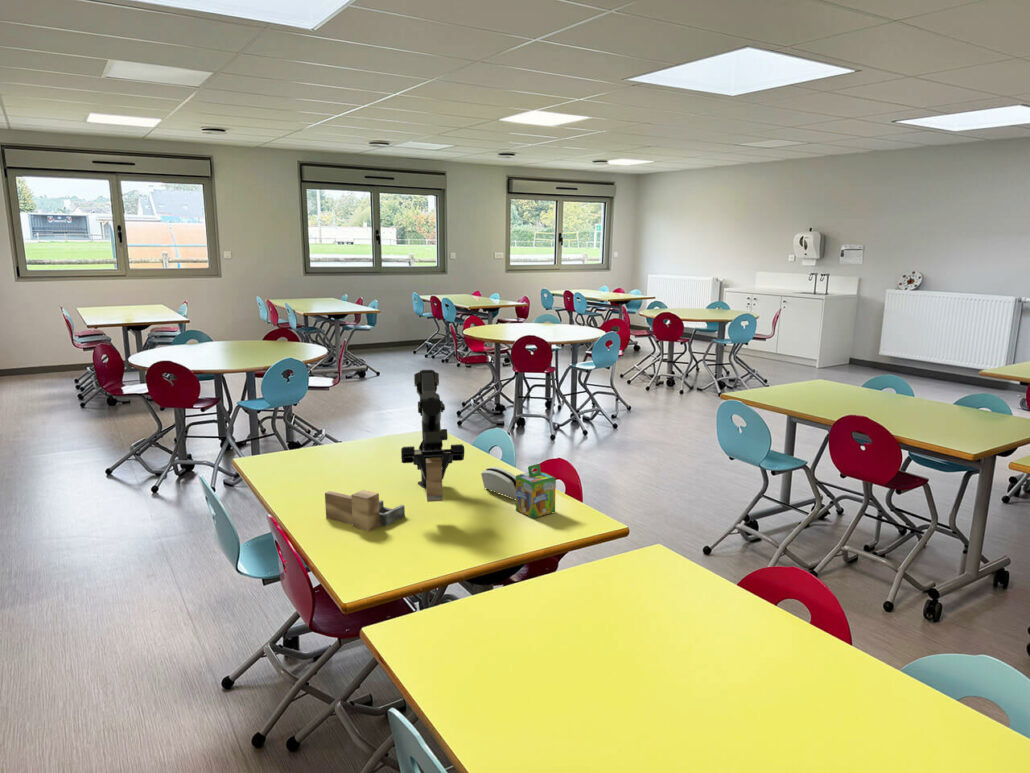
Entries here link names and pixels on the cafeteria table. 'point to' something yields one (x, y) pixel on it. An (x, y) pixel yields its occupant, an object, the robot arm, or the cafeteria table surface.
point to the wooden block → (434, 479)
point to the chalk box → (535, 492)
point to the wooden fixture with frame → (361, 510)
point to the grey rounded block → (499, 481)
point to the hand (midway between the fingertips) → (434, 479)
